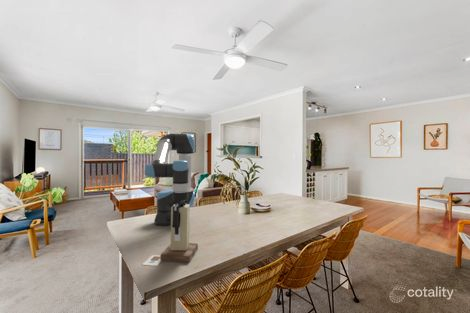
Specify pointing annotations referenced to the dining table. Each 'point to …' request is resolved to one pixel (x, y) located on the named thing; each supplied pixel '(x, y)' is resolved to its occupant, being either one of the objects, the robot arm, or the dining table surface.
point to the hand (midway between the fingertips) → (180, 237)
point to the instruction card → (152, 260)
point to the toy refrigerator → (181, 229)
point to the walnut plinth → (179, 254)
